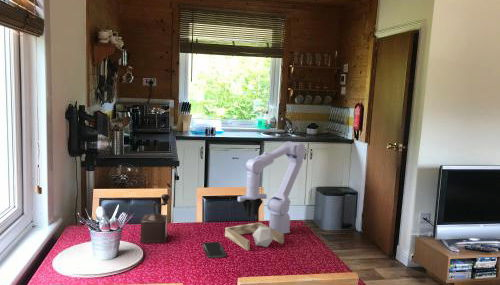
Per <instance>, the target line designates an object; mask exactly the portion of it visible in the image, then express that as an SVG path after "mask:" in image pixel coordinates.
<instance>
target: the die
mask: <svg viewBox="0 0 500 285" xmlns="http://www.w3.org/2000/svg"><path fill="white" fill-rule="evenodd" d="M252 237H253V240H254V243H255V246H258V247H265V248H268V247H269V246H270V244H271V243H272V242H273V241H274V238H273V235H272V232H271V228H267V227H261V226H259V227H258V229H257V230H256V231H255V232H253V233H252Z"/></svg>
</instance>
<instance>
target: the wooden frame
mask: <svg viewBox="0 0 500 285" xmlns="http://www.w3.org/2000/svg"><path fill="white" fill-rule="evenodd" d="M259 226H261V227H267V228H270V227H269V225H266V224H264V223H263V222H255V223H248V224H240V225H234V226H227V227H225V229H224V230H225V231H224V236H225V238H227V239H229V240H230V241H232V242H233V243H235V244H236V245H238V246H240V248H242V249H244V250H246V251H250V248H251V247H250V246H251V240H249V239H248V238H246V237H244V236H242V235H245V234H251V233H252V234H253V233H254V232H255V231H256V230H257V229H258V227H259ZM271 232H272V235H273V238H274V239H273V241H275V242H278V243H279V244H281V245H283V244H284V242H285V234H282V233H280V232H278V231H276V230H274V229H272V228H271Z"/></svg>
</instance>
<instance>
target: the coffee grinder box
mask: <svg viewBox="0 0 500 285" xmlns="http://www.w3.org/2000/svg"><path fill="white" fill-rule="evenodd" d="M160 198H161V200H162V202H161V204H160V203H159V204H157V203H156V201H153V202H152V207H153V209H152V210H153V212H152V213H150V214H144V215H143V217H142V219H141V221H140V243H141V244H165V243H166V242H167V239H168V238H169V236H168V235H167V234H168V233H167V230H168V228H167V227H168V215H167V214H163V213H162V214H161V213H158V212H156V207H163V206H164V207H165V206H166V205H169V200H170V198H171V196H170V194H167V193H164V194H162V195H161V197H160Z"/></svg>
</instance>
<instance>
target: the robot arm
mask: <svg viewBox="0 0 500 285" xmlns="http://www.w3.org/2000/svg"><path fill="white" fill-rule="evenodd" d="M306 153H307V149H306V147H305V144H304V143H302V142H301V143H299V142H295V141H294V142H293V141H290V140H287V141H285V142H284V143H282V145H280V146H279V147H278V148H275V149H274V150H272V151H271V152H268V151H263V152H262V154H260V155H258V156H255V157H254V158H250V159H248V160H247V161H246V163H245V164H244V168H245V171H246V174H247V175H246V176H247V178H246V194H243V195H240V196H239V195H238V196H237V202H239V203H240V202H241V203H242V204H243V207H244V210H245V216H247V217H248V218H249V217H251V211H252V215H253V216H258V212H259V209H260V208H261V205H262V204H263V200H266V199H268V195H267V193H260V185H261V183H260V182H261V180H260V179H261V173H262V172H263V171H264V169H265V168H266V167H268V166H270V165H272V164H274V162H275V160H276V159H278V158H280V157H282V156H284V155H285V156H286V157H287V159H288V160H289V164H288V167H287V169H286V172H285V174H284V175H283V176H284V177H283V179H282V182H281V183H280V186H279V188H278V190H277V191H276V192H275V193H272V195H271V197H270V199H268V201H267V203H266V204H267V205H266V208H267V209H268V213H269V224H268V227H270V228H272V229H274V230H276V231H278V232H280V233H282V234H283V235H285V234H289V233H291V231H290V227H291V226H290V225H291V217H290V214H289V213H288V212H289V211H290V205H291V199H290V198H289V195H290V194H291V191H292V188H293V186H294V184H295V182H296V179H297V178H298V174H299V172H300V169H302V168H301V167H302V165H303V162H304V158H305V156H306ZM251 209H252V210H251Z"/></svg>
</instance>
